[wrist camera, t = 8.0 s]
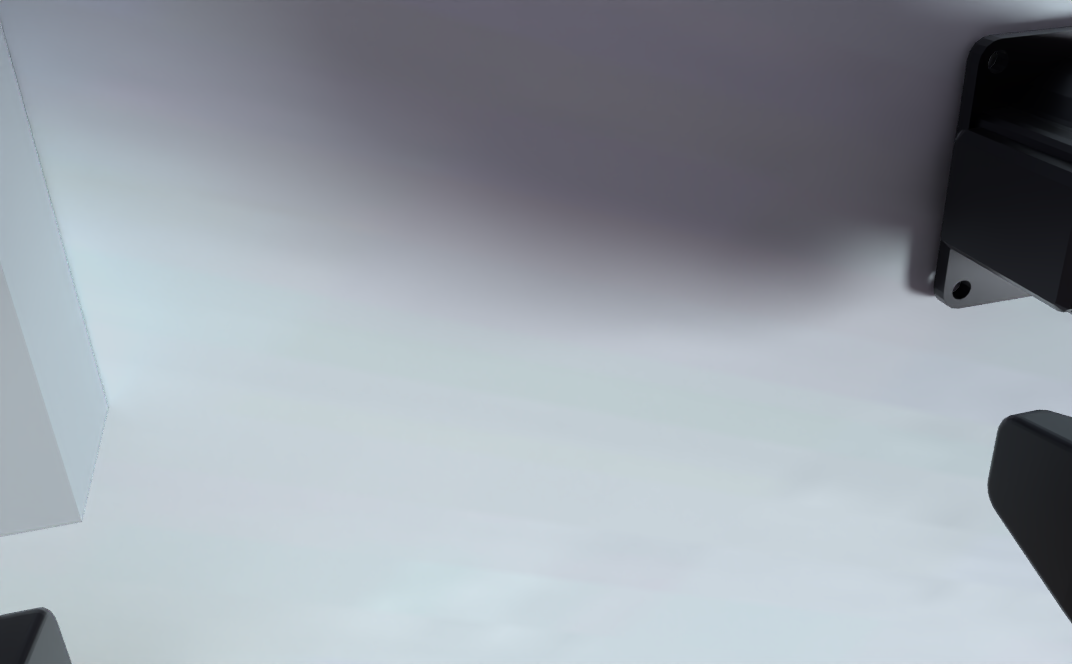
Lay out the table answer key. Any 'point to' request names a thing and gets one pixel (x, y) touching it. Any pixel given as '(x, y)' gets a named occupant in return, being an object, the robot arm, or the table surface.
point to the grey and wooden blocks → (39, 344)
